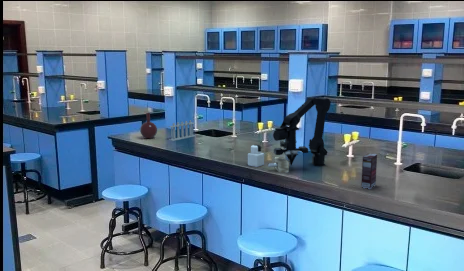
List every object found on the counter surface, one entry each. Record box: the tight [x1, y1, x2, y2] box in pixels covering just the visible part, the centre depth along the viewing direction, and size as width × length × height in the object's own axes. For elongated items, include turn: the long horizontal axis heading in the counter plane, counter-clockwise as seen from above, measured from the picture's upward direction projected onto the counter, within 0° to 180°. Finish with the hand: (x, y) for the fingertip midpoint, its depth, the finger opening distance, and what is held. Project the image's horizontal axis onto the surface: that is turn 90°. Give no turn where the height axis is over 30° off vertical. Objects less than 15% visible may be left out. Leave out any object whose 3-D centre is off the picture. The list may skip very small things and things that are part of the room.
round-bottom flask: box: [139, 112, 158, 139], centre depth 328 cm, size 13×13×20 cm
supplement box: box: [360, 152, 378, 190], centre depth 204 cm, size 9×5×16 cm, turn 144°
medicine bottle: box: [247, 144, 265, 168], centre depth 246 cm, size 7×7×12 cm
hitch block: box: [274, 156, 290, 174], centre depth 236 cm, size 5×12×6 cm, turn 9°
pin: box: [267, 160, 290, 168], centre depth 235 cm, size 12×4×4 cm, turn 99°
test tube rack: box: [168, 120, 197, 142], centre depth 329 cm, size 25×4×13 cm, turn 140°
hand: (291, 165), depth 237 cm, fingers closed
